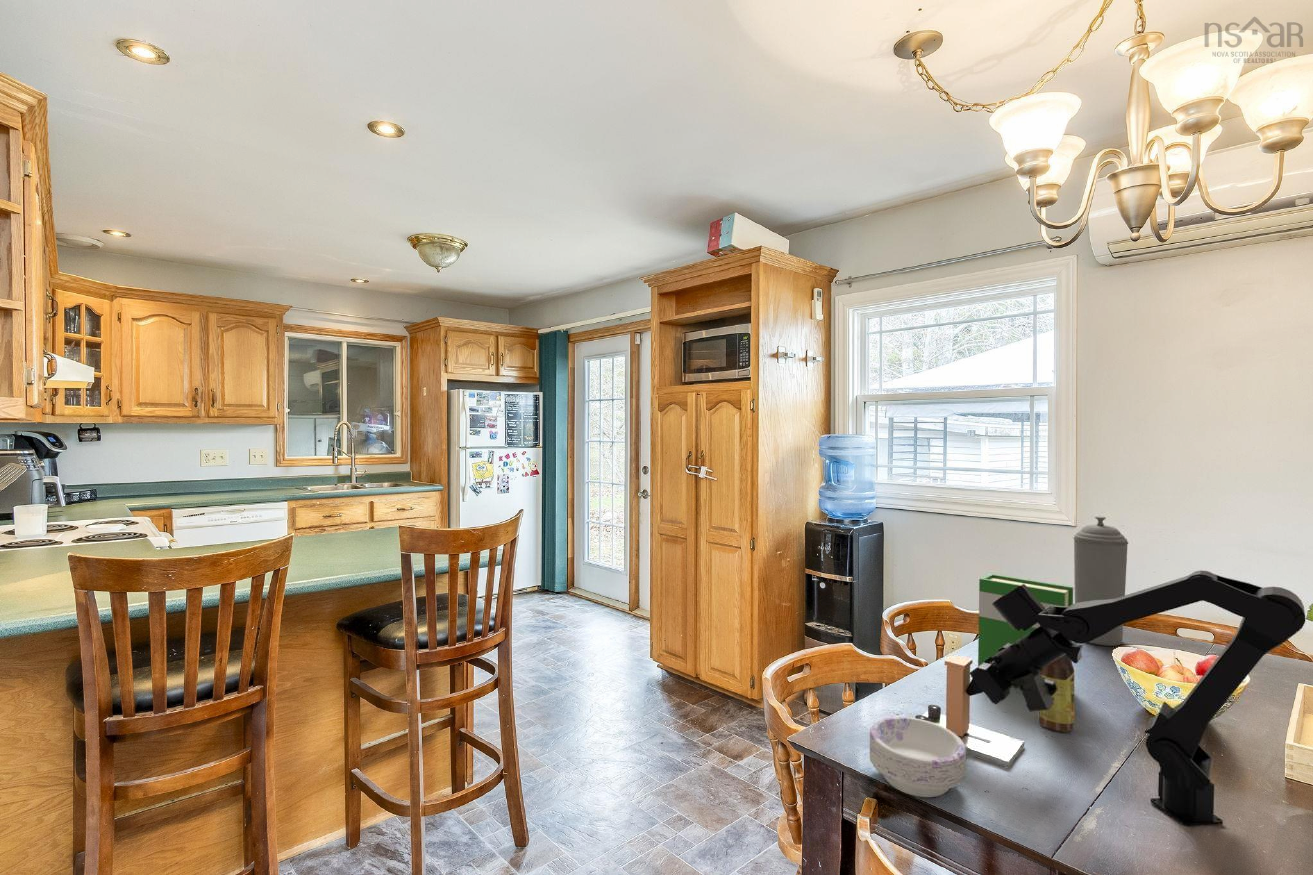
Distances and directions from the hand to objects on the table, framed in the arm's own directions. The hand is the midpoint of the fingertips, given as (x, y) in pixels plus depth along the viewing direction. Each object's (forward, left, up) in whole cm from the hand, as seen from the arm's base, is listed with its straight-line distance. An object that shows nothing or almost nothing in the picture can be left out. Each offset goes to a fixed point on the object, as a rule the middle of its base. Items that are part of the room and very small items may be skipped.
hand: (967, 693), depth 123 cm
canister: (+51, -69, -9) cm, 87 cm away
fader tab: (+1, +1, -8) cm, 8 cm away
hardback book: (+24, -28, -10) cm, 39 cm away
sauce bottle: (+4, -21, -9) cm, 24 cm away
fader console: (0, 0, -9) cm, 9 cm away
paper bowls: (-13, +17, -10) cm, 23 cm away
